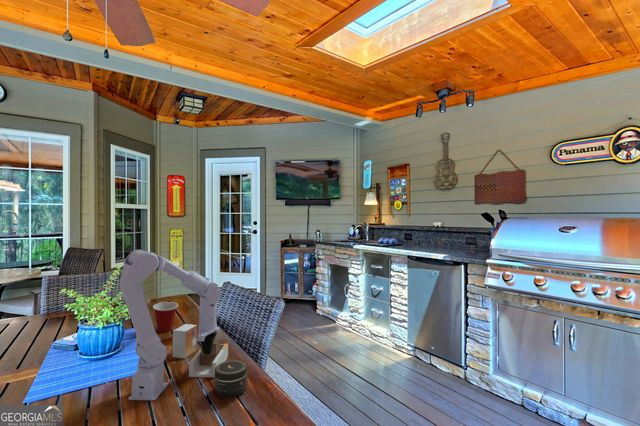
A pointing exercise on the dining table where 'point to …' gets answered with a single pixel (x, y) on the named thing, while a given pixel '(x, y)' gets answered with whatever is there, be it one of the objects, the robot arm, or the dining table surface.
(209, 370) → the grey chute
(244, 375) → the jar
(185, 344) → the small box
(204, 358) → the walnut block
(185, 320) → the dining table surface
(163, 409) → the dining table surface
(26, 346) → the dining table surface
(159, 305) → the plastic cup
